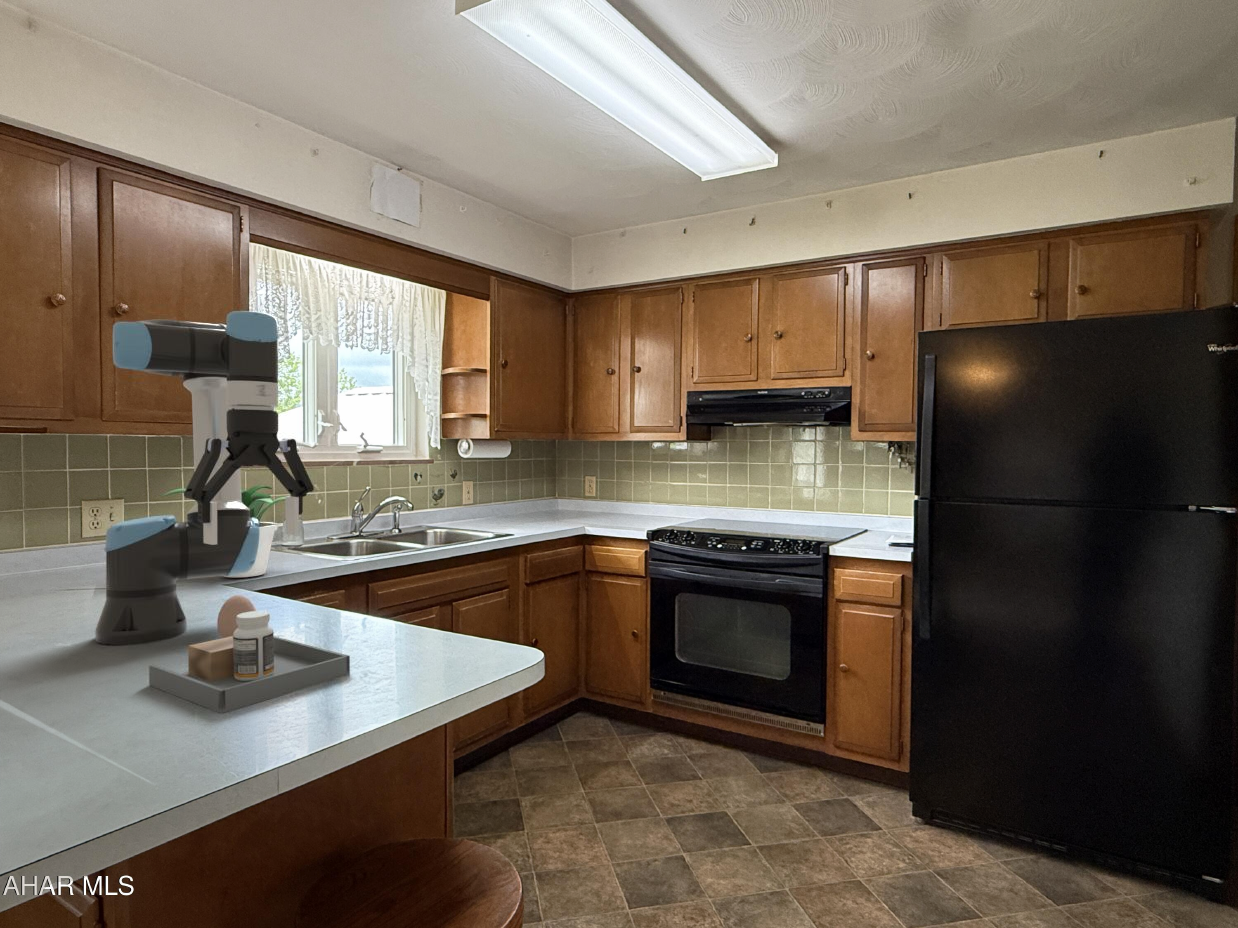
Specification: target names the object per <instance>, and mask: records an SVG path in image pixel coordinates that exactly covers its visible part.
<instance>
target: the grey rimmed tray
mask: <svg viewBox="0 0 1238 928" xmlns="http://www.w3.org/2000/svg"><path fill="white" fill-rule="evenodd" d="M350 656H351V655H348V654H343V653H341V652H336V651H333V650H329V649H325V648H321V647H317V646H313V645H309V644H306V643H302V642H297V641H294V640H292V639H291V640H290V639H286V638H283V637H279V636H274V672H273V674H272V675H271V676H269V677H266V678H262V679H258V680H255V681H239V680H237V679H235V677H234V676H231V677H227V678H224V679H220V680H216V681H212V682H211V681H208V680H205V679H202V678H200V677H197V676H194V675H191V674H189V671H187V672H182V673H179V672H176V671H174V670H171V669H168V668H166V667H162V666H159V665H156V664H149V665H148V676H149V677H148V680H149V682H148V683H149V686H151V687H153V688H155V689H158V690H161V691H163V692H166V693H167V694H171V695H174V696H176V697H179V698H182V699H184V700H186V701H189V702H191V703H194V704H197V705H200V706H202V707H203V708H207V709H209V710H211V711H213V712H217V713H219V714H225V713H227V712H230V711H234V710H237V709H240V708H245V707H247V706H250V705H251V706H252V705H253V704H257V703H260V702H264V701H267V700H270V699H274V698H276V697H277V698H278V697H280V696H284V695H287V694H291V693H294V692H296V691H301V690H304V689H306V688H309V687H313V686H316V685H320V684H323V683H326V682H328V681H331V680H334V679H338V678H342V677H344V676H347V675H350V673H351V672H350V671H351V669H350V668H351V665H350V664H351V662H350V661H351V657H350Z"/></svg>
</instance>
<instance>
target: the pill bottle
mask: <svg viewBox="0 0 1238 928" xmlns="http://www.w3.org/2000/svg"><path fill="white" fill-rule="evenodd" d="M270 619H271V615H270V612H269V611H266V610H256V611H251V612H245V613H241V614H239V615H237V617H236V623H237V625H238V628H237V629H236V630H235V631H234V633H233V664H234V677H235V679H237V680H239V681H255V680H258V679H262V678H266V677H269V676H271V675H272V674H273V672H274V637H275V635H274V634H275V632H274V629H273V627H272V626H271V625H269V622H270Z"/></svg>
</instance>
